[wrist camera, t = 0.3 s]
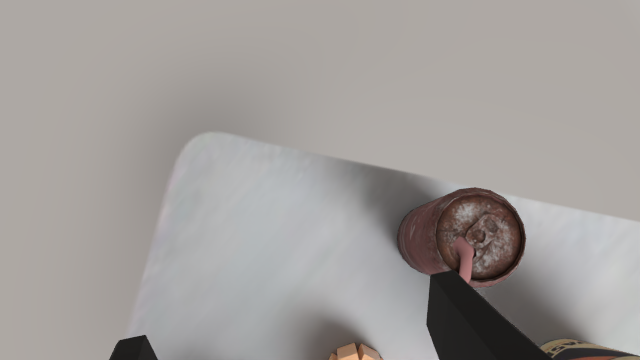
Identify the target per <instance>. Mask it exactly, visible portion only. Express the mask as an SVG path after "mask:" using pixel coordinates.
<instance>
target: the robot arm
mask: <svg viewBox="0 0 640 360" xmlns="http://www.w3.org/2000/svg"><path fill="white" fill-rule="evenodd" d="M426 325H427V327H428V330H429V333H430V336H431V338H432V341H433V344H434V347H435V349H436V352H437V354H438V357H439V360H554V359H553V358H552V357H550V356H549V355H548V354H547V353H545V352H544V351H543V350H542V349H540V348H539V347H538V346H537V345H536V344H534V343H533V342H532V341H531V340H530V339H528V338H527V337H526V336H525V335H524V334H523V333H522V332H520V331H519V330H518V329H517V328H516V327H515V326H513V325H512V324H511V323H510V322H509V321H508V320H507V319H505V318H504V317H503V316H502V315H501V314H500V313H499V312H498V311H497V310H496V309H495V308H493V307H492V306H491V305H490V304H489V303H488V302H487V301H486V300H485V299H484V298H483V297H482V296H481V295H480V294H479V293H478V292H476V291H475V290H474V289H473V288H472V287H471V286H470V285H469V284H468V283H467V282H466V281H465V280H464V279H463V278H462V277H461V276H460V275H459V274H458V273H457V272H456V271H454V270H449V271H444V272H440V273H435V274H431V276H430V288H429V300H428V312H427V324H426ZM109 360H158V359H157V357H156V355H155V353H154V351H153V349H152V347H151V345H150V343H149V341H148V339H147V337H146V335H142V336H137V337H133V338H128V339H123V340H120V341H119V342H118V343H117V344H116V346H115V348H114V351H113V353H112V355H111V357H110V359H109Z"/></svg>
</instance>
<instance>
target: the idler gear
mask: <svg viewBox="0 0 640 360" xmlns="http://www.w3.org/2000/svg"><path fill="white" fill-rule="evenodd" d="M329 360H383V358H380V356H379V354H378V352H377V351H375V350H373V349H371V348H369V347H367V346H365V345H364V344H362V343H361V345H360V347H359V349H358V351H357V349H356V346H355V343H352V344H349V345H346V346H343V347H339V348H337V355H335V354H333V353H332V354H331V356H330V358H329Z"/></svg>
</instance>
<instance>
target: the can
mask: <svg viewBox="0 0 640 360" xmlns="http://www.w3.org/2000/svg"><path fill="white" fill-rule="evenodd" d="M397 240H398V247H399V251H400V253H401V255H402V257H403V259H404V260H405V261H406V262H407V263H408V264H409V265H410V266H411V267H412V268H414V269H416V270H417V271H419V272H421V273H424V274H428V275H431V274H435V273H440V272H444V271H449V270H454V271H456V272H457V273H458V274H459V275H460V276H461V277H462V278H463V279H464V280H465V281H466V282H467V283H468V284H469V285H470V286H471V287H475V288H477V287H486V286H492V285H494V284H496V283H499V282H501V281H503V280H505V279H506V278H507V277H508V276H509V275H510V274H511V273H512V272H513V271H514V270H515V269H516V268H517V267H518V265H519V263H520V261H521V259H522V257H523V255H524V250H525V242H526V235H525V230H524V224H523V222H522V220H521V218H520V217H519V215H518V213H517V211H516V209H515V208H514V207H513V206H512V205H511V204H510V203H509V202H508V201H507V200H506V199H505V198H504V197H502V196H500V195H498V194H496V193H494V192H492V191H491V190H486V189H481V188H475V187H474V188H466V189H459V190H457V191H455V192H452V193H450V194H448V195H445V196H443V197H441V198H439V199H436V200H434V201H432V202H429V203H427V204H425V205H422V206H420V207H418V208H416V209H414V210H412V211H411V212H410V213H409V214H408V215H407V216H405V217H404V219H403V221H402V223H401V225H400V226H399V230H398V236H397Z"/></svg>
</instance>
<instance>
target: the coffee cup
mask: <svg viewBox="0 0 640 360" xmlns="http://www.w3.org/2000/svg"><path fill="white" fill-rule="evenodd" d="M539 348H540V349H542V350H543V351H544V352H545V353H547V354H548V355H549V356H550V357H552V358H553V359H554V360H640V356H637V355H634V354H630V353H626V352H622V351H618V350H614V349H610V348H606V347H603V346H599V345H595V344H591V343H587V342H582V341H577V340H572V339H558V340H554V341H550V342H548V343H546V344H544V345H542V346H541V347H539Z"/></svg>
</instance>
